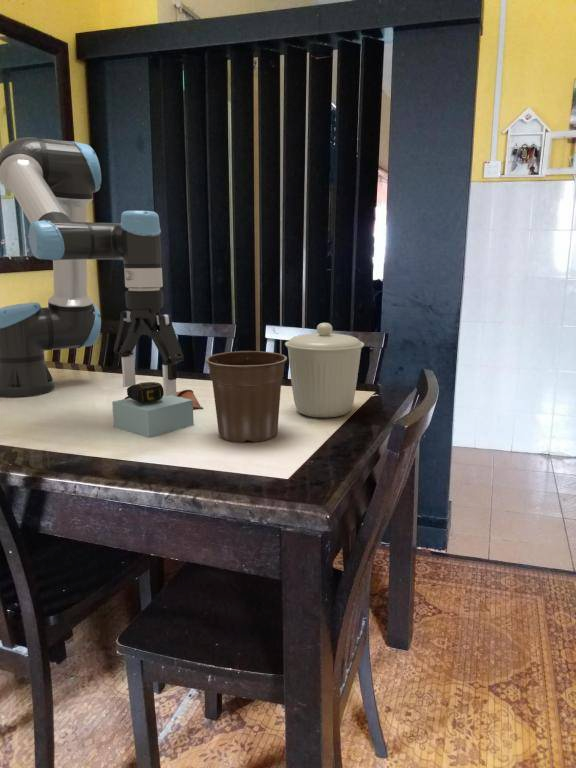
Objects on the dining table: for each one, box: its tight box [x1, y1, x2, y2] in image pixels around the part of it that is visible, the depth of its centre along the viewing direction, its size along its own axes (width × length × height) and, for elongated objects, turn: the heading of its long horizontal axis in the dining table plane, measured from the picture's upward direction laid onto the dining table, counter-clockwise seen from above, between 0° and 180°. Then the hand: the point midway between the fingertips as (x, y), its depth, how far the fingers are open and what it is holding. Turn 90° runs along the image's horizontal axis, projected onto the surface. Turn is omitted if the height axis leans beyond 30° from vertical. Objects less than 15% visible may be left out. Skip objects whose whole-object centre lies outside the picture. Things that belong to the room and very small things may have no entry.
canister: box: [284, 322, 365, 419], centre depth 137 cm, size 18×18×21 cm
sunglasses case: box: [124, 389, 204, 411], centre depth 143 cm, size 18×7×7 cm
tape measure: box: [126, 381, 164, 403], centre depth 126 cm, size 7×7×4 cm
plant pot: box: [205, 350, 288, 443], centre depth 121 cm, size 16×16×16 cm
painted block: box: [111, 395, 194, 439], centre depth 128 cm, size 12×12×6 cm
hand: (149, 390), depth 126 cm, fingers open, 13 cm apart
